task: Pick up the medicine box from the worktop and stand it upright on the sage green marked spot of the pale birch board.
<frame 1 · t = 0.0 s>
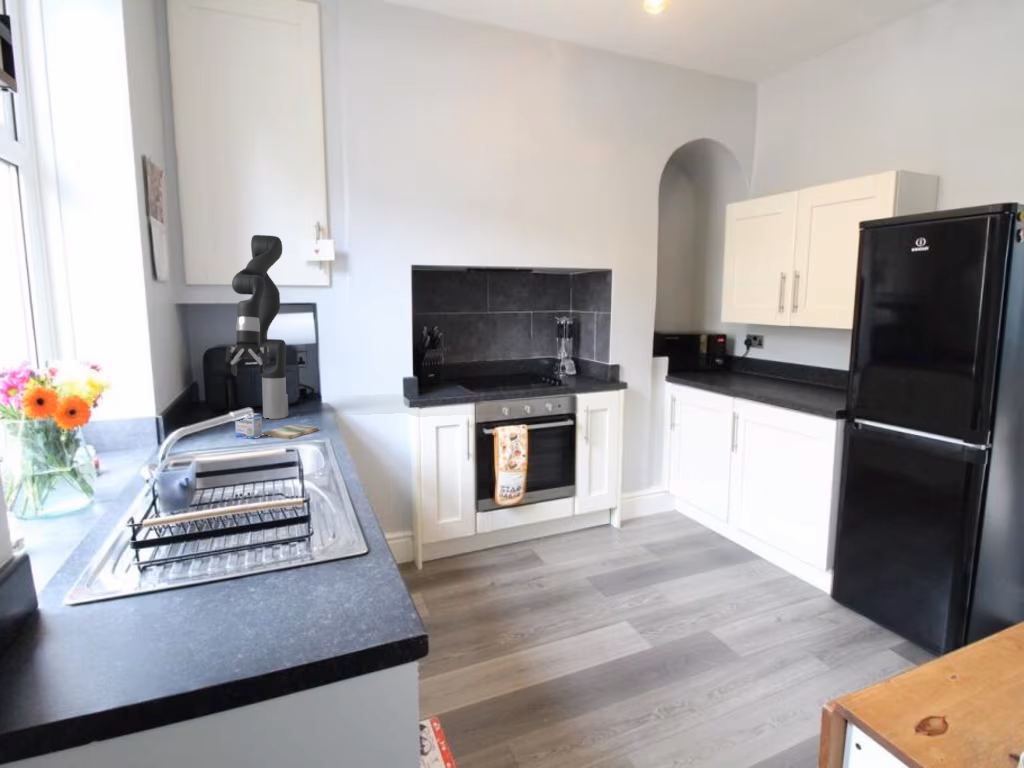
hand: (247, 375, 199), 22 cm above the worktop, tool pointing down, fingers open, 8 cm apart
medicine box: (249, 437, 201), on the worktop
layout board: (291, 432, 210), on the worktop
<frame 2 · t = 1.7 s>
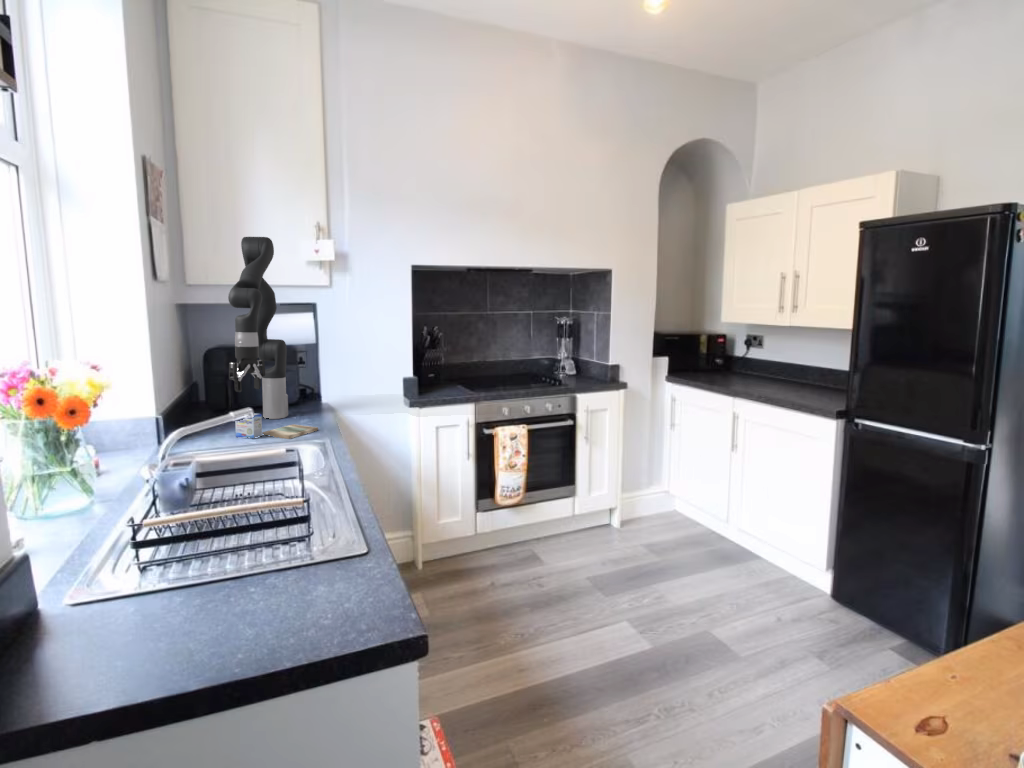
hand: (248, 390, 199), 17 cm above the worktop, tool pointing down, fingers open, 8 cm apart
nothing on the worktop moved.
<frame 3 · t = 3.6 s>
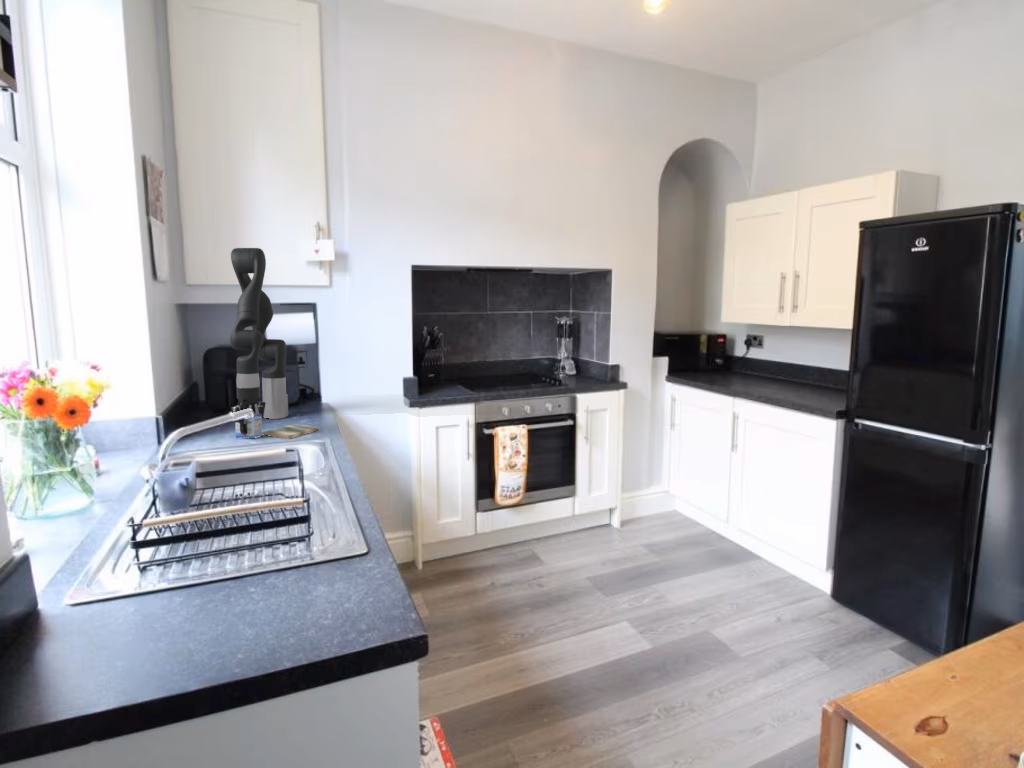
hand: (249, 431, 201), 2 cm above the worktop, tool pointing down, fingers closed on medicine box, 4 cm apart
medicine box: (248, 437, 201), on the worktop, touching gripper
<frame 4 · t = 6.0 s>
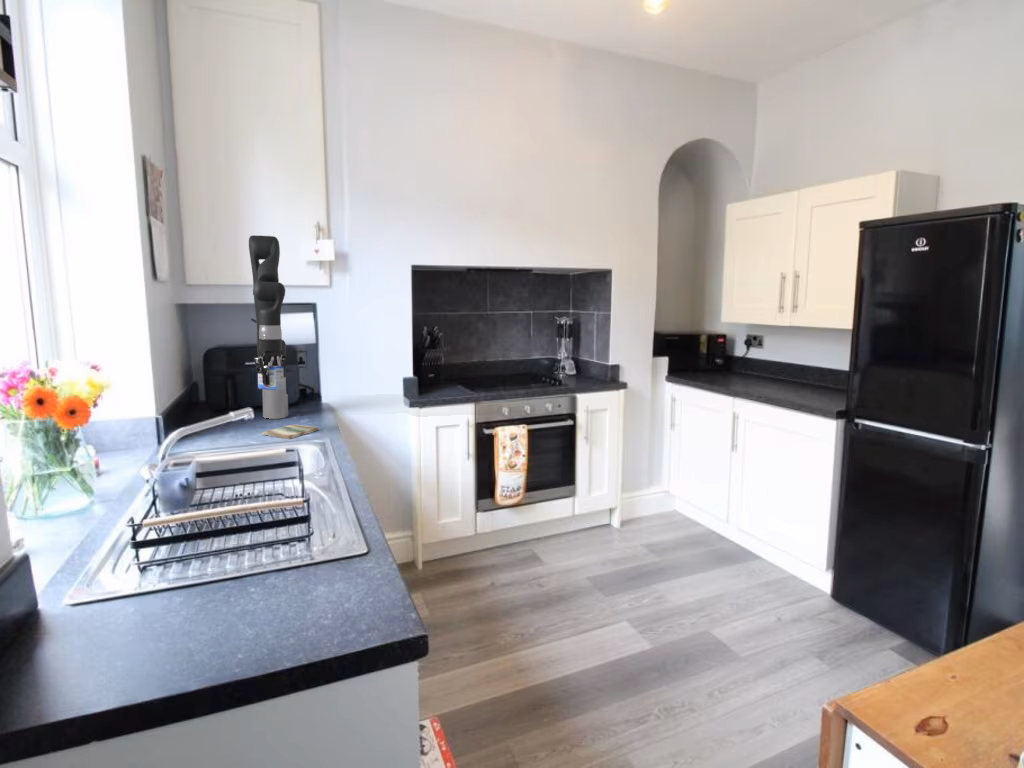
hand: (271, 383, 204), 19 cm above the worktop, tool pointing down, fingers closed on medicine box, 4 cm apart
medicine box: (271, 389, 204), point 17 cm above the worktop, touching gripper
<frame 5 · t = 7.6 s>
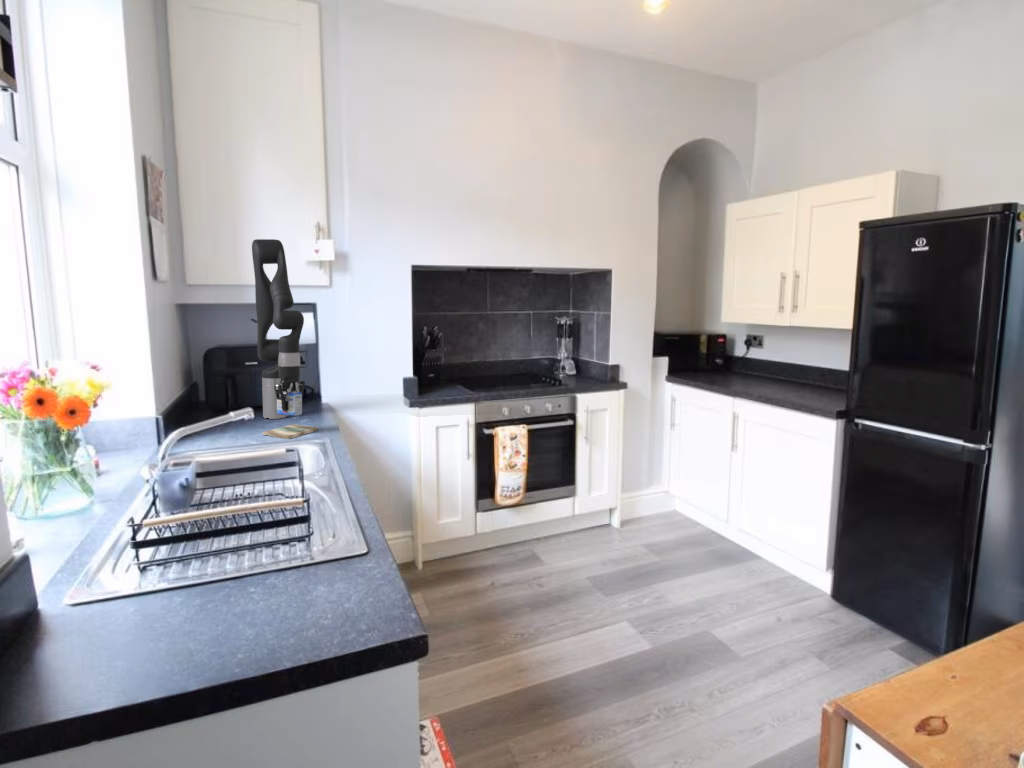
hand: (290, 409, 208), 9 cm above the worktop, tool pointing down, fingers closed on medicine box, 4 cm apart
medicine box: (289, 414, 209), point 7 cm above the worktop, touching gripper
when the fingers open (5 cm above the worktop, at t = 8.8 s): medicine box drops 1 cm, resting on layout board.
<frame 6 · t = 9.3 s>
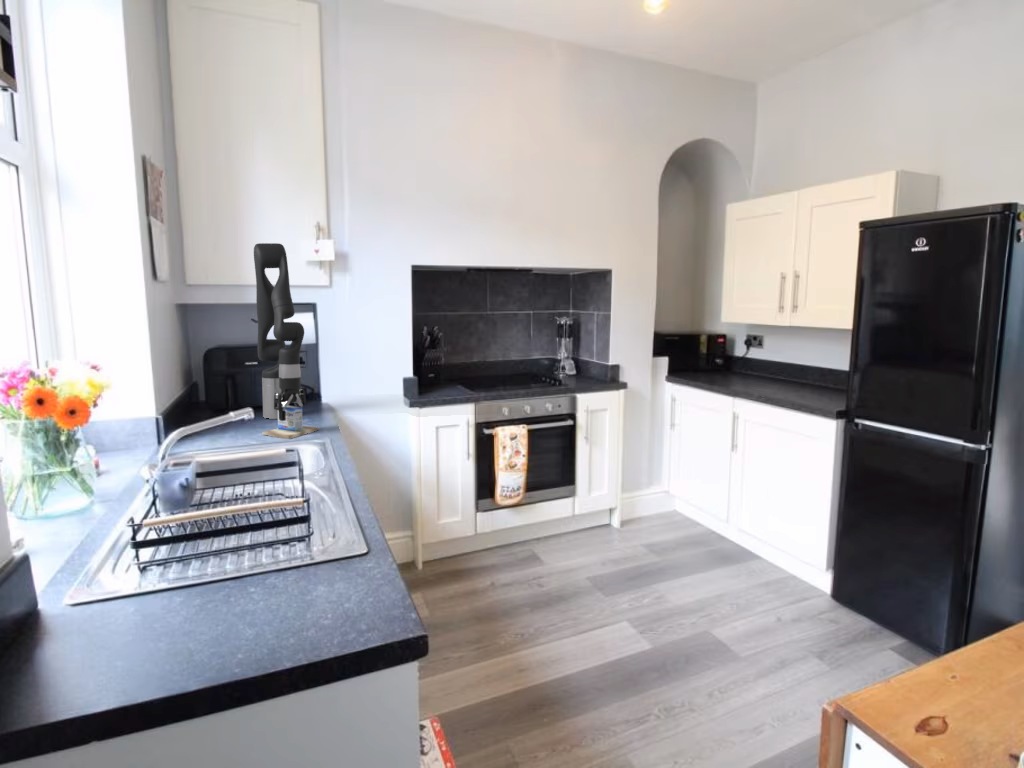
hand: (290, 418, 209), 5 cm above the worktop, tool pointing down, fingers open, 8 cm apart
medicine box: (290, 429, 210), point 1 cm above the worktop, touching layout board
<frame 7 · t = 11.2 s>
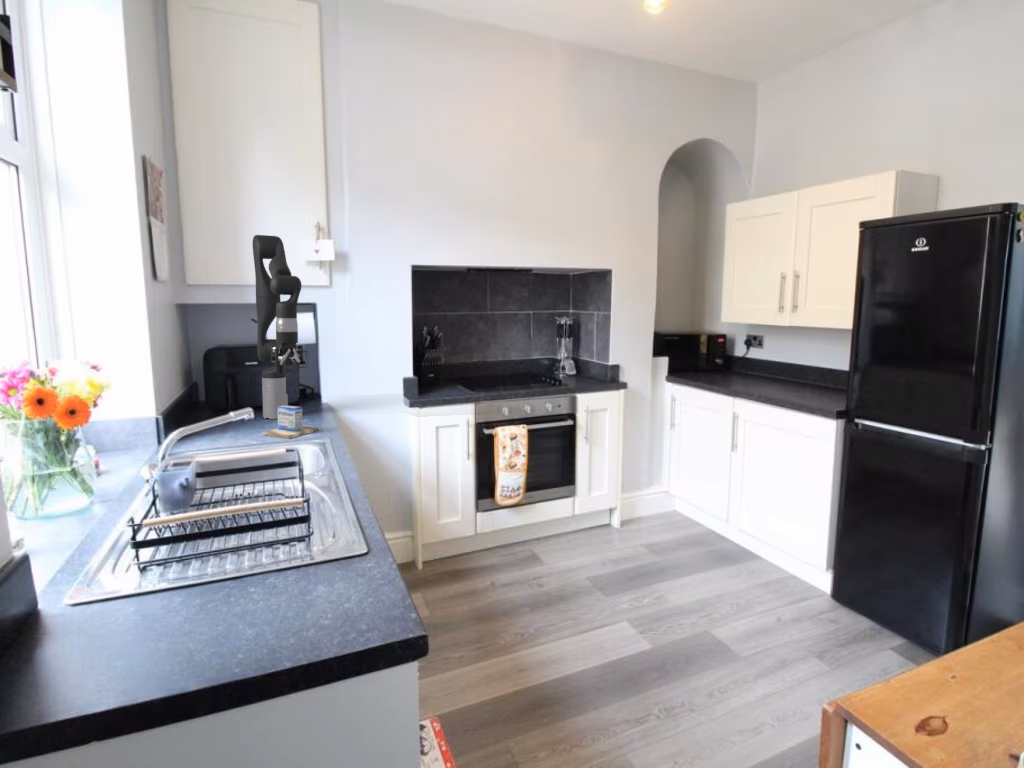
hand: (287, 373, 207), 22 cm above the worktop, tool pointing down, fingers open, 8 cm apart
nothing on the worktop moved.
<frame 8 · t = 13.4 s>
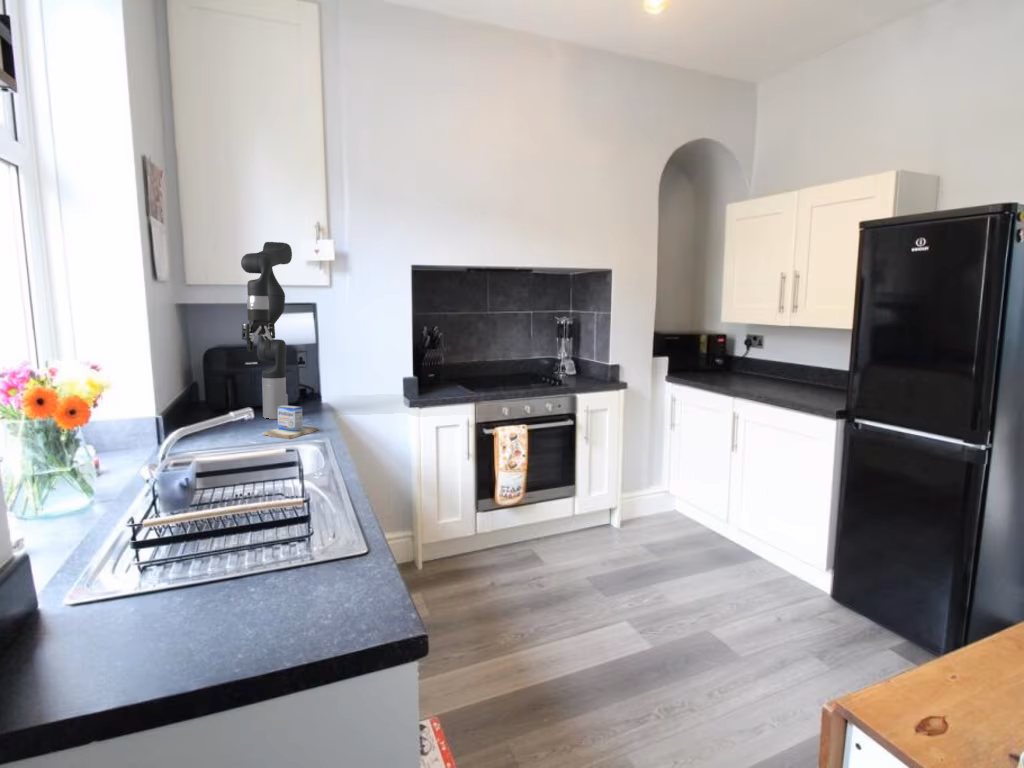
hand: (259, 350, 213), 30 cm above the worktop, tool pointing down, fingers open, 8 cm apart
nothing on the worktop moved.
at the end: medicine box 0.5 cm off-centre on the layout board, point 1.2 cm above the layout board's base; medicine box tilted 0°; the gripper is holding nothing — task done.
